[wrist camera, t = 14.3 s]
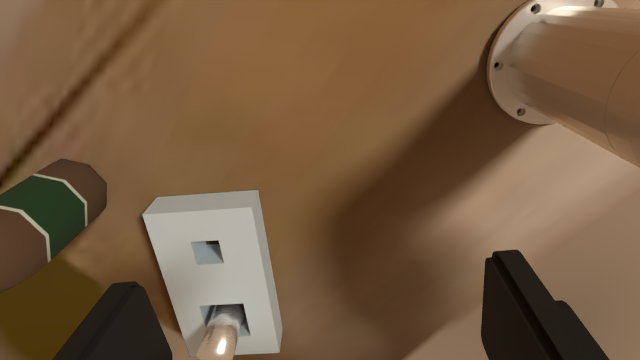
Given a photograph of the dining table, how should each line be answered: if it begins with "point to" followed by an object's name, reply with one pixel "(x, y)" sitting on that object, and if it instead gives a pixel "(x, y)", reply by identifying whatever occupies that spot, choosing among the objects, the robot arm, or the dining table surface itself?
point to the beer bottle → (45, 217)
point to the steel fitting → (222, 333)
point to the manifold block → (217, 265)
